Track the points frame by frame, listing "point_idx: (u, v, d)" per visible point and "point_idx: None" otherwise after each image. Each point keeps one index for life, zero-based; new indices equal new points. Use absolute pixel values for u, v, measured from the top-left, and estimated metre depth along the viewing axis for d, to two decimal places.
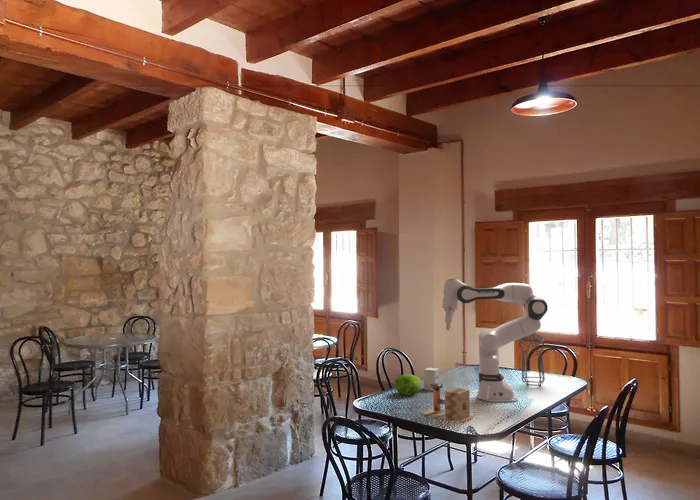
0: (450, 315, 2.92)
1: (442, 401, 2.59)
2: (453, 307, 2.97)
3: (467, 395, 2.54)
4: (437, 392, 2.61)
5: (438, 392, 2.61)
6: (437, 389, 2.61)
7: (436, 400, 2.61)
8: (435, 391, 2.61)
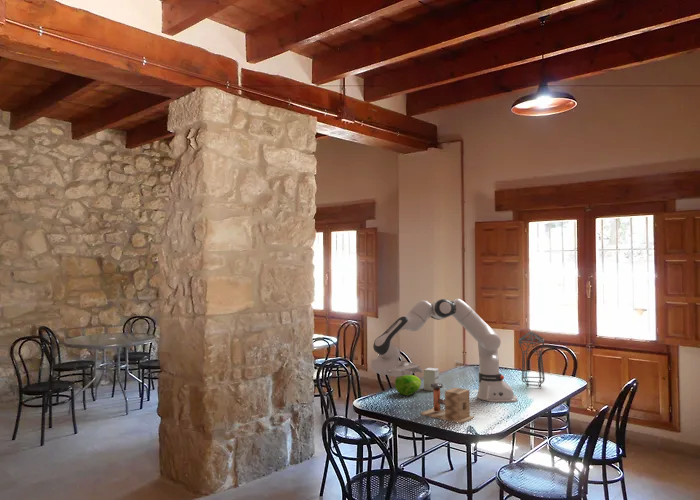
0: (392, 370, 2.70)
1: (442, 401, 2.59)
2: (392, 365, 2.77)
3: (467, 395, 2.54)
4: (437, 392, 2.61)
5: (438, 392, 2.61)
6: (437, 389, 2.61)
7: (436, 400, 2.61)
8: (435, 391, 2.61)
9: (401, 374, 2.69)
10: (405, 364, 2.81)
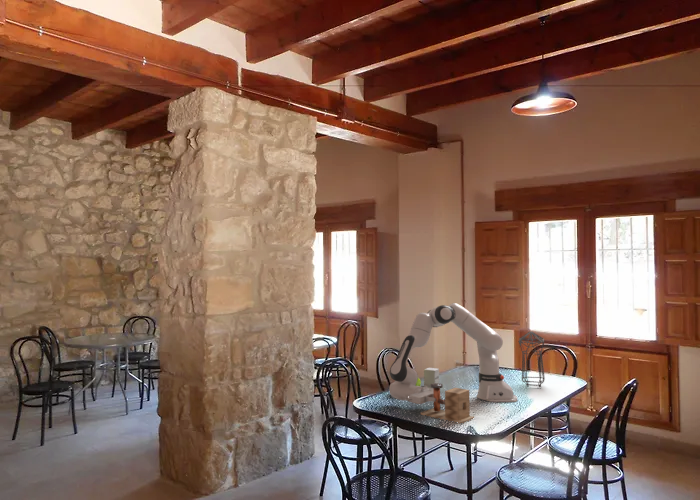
0: (412, 397, 2.61)
1: (442, 401, 2.59)
2: (412, 391, 2.68)
3: (467, 395, 2.54)
4: (437, 392, 2.61)
5: (438, 392, 2.61)
6: (437, 389, 2.61)
7: (436, 400, 2.61)
8: (435, 391, 2.61)
9: (422, 401, 2.59)
10: (425, 389, 2.72)
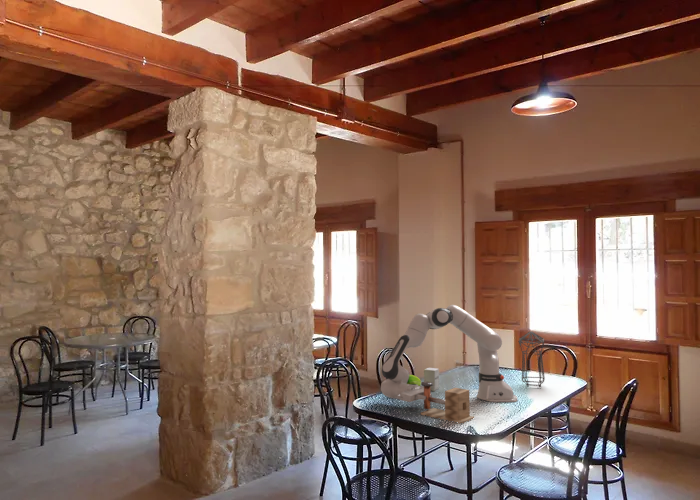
0: (403, 395, 2.65)
1: (432, 399, 2.63)
2: (403, 389, 2.72)
3: (467, 395, 2.54)
4: (427, 390, 2.65)
5: (428, 390, 2.65)
6: (427, 387, 2.65)
7: None
8: (425, 389, 2.65)
9: (412, 399, 2.63)
10: (416, 388, 2.76)
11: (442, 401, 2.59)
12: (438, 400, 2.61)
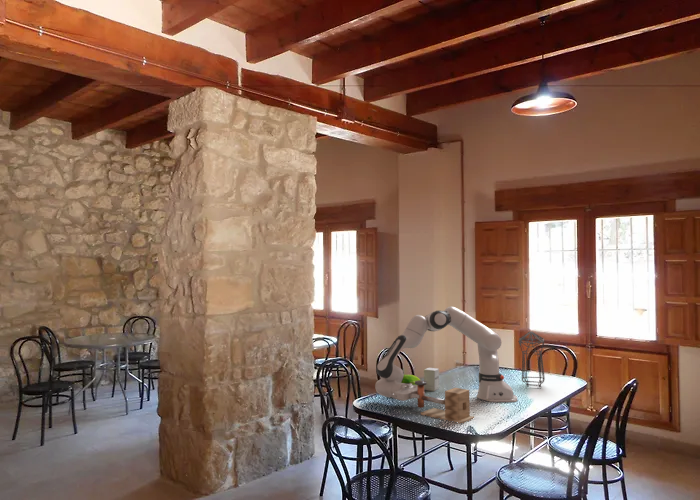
0: (397, 394, 2.67)
1: (426, 398, 2.66)
2: (397, 388, 2.75)
3: (467, 395, 2.54)
4: (421, 389, 2.68)
5: (422, 389, 2.68)
6: (421, 386, 2.68)
7: None
8: (419, 388, 2.68)
9: (406, 398, 2.66)
10: (410, 387, 2.79)
11: (435, 400, 2.62)
12: (431, 399, 2.63)
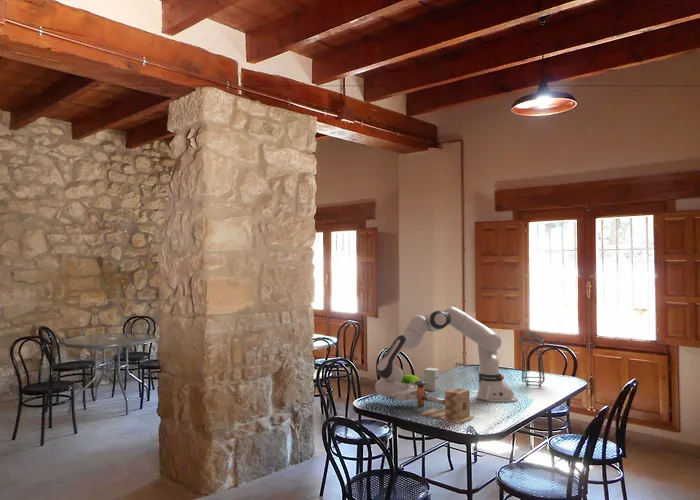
0: (397, 394, 2.67)
1: (425, 398, 2.66)
2: (397, 388, 2.75)
3: (467, 395, 2.54)
4: (421, 389, 2.68)
5: (422, 389, 2.68)
6: (421, 386, 2.68)
7: (419, 396, 2.68)
8: (419, 388, 2.68)
9: (406, 398, 2.66)
10: (410, 387, 2.79)
11: (435, 400, 2.62)
12: (431, 399, 2.63)
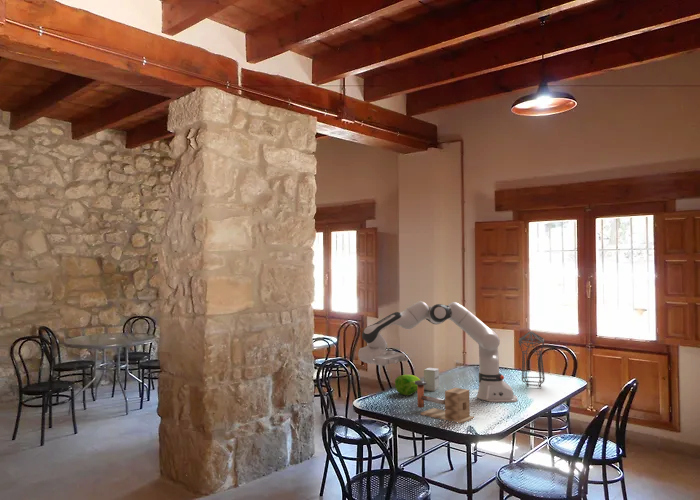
0: (377, 359, 2.77)
1: (425, 398, 2.66)
2: (378, 354, 2.84)
3: (467, 395, 2.54)
4: (421, 389, 2.68)
5: (422, 389, 2.68)
6: (421, 386, 2.68)
7: (419, 396, 2.68)
8: (419, 388, 2.68)
9: (386, 362, 2.75)
10: (391, 353, 2.88)
11: (435, 400, 2.62)
12: (431, 399, 2.63)
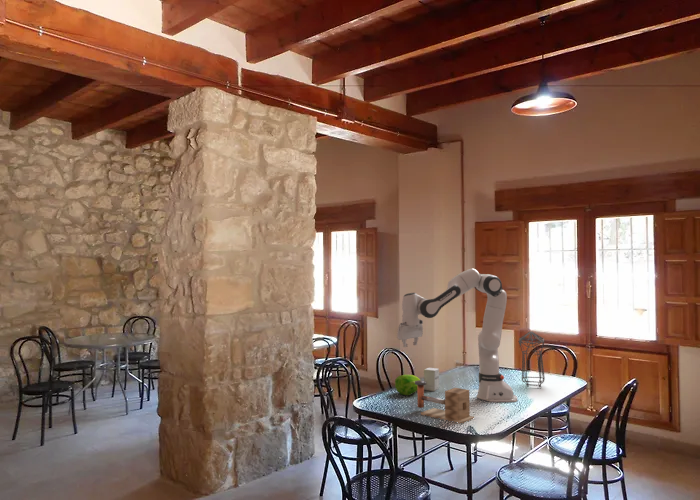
0: (401, 331, 2.80)
1: (425, 398, 2.66)
2: (409, 323, 2.84)
3: (467, 395, 2.54)
4: (421, 389, 2.68)
5: (422, 389, 2.68)
6: (421, 386, 2.68)
7: (419, 396, 2.68)
8: (419, 388, 2.68)
9: None
10: (417, 327, 2.90)
11: (435, 400, 2.62)
12: (431, 399, 2.63)
